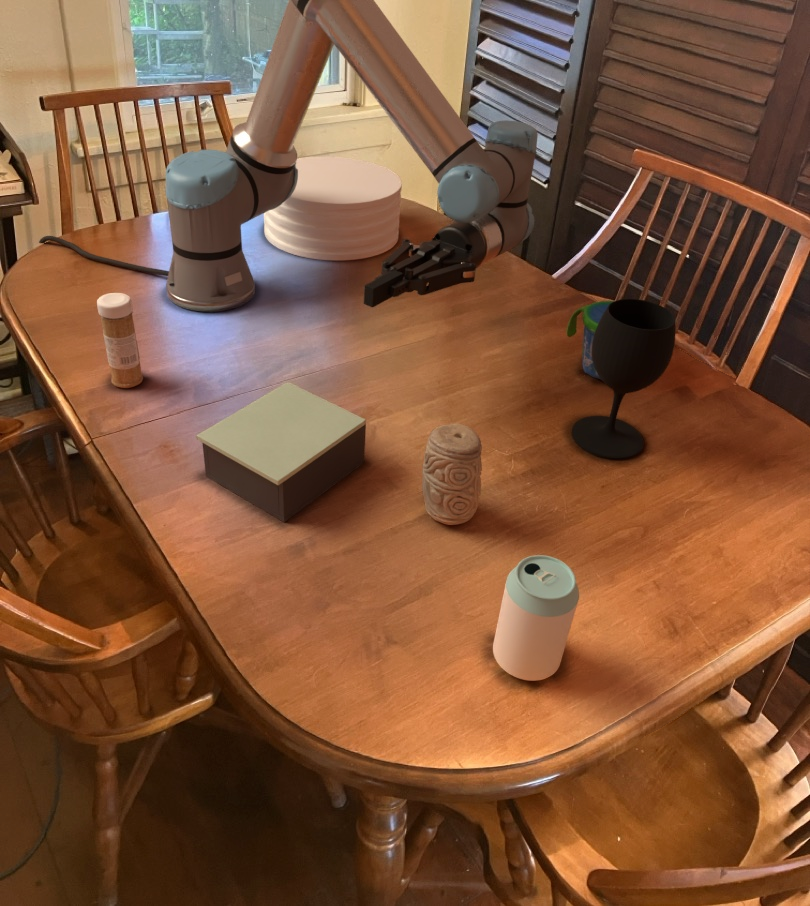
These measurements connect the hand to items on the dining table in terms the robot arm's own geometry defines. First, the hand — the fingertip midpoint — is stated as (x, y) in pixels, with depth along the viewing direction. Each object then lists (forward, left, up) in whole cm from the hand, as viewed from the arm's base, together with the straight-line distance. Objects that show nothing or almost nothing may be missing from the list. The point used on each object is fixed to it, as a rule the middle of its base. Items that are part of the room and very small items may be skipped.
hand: (368, 296), depth 104 cm
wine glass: (+35, +8, -19) cm, 40 cm away
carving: (+17, -16, -19) cm, 30 cm away
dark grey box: (-5, -15, -19) cm, 25 cm away
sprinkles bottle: (-35, -4, -19) cm, 41 cm away
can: (+30, -35, -19) cm, 50 cm away
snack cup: (+33, +27, -19) cm, 46 cm away
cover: (-6, -16, -13) cm, 21 cm away
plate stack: (-27, +62, -19) cm, 70 cm away
